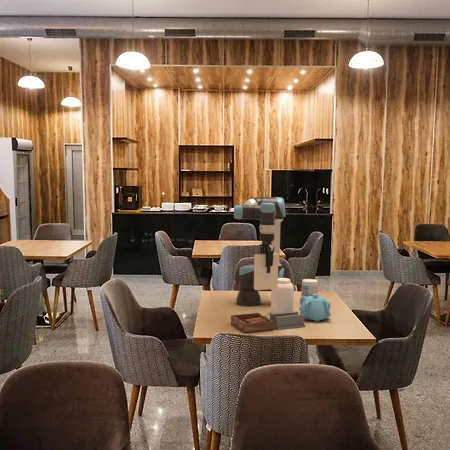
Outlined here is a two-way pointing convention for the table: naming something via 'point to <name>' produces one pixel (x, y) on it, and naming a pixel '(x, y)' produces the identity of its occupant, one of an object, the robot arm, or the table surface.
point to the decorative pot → (315, 307)
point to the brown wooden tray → (252, 327)
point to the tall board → (259, 273)
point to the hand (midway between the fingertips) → (266, 278)
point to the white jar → (282, 297)
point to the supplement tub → (309, 287)
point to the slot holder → (287, 320)
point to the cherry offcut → (255, 320)
